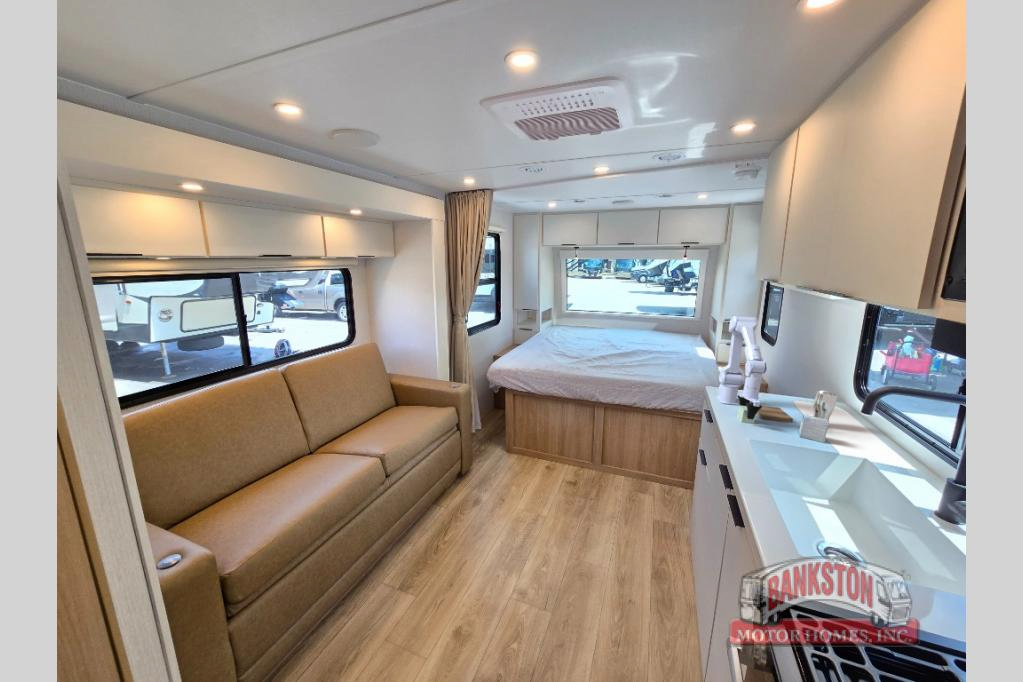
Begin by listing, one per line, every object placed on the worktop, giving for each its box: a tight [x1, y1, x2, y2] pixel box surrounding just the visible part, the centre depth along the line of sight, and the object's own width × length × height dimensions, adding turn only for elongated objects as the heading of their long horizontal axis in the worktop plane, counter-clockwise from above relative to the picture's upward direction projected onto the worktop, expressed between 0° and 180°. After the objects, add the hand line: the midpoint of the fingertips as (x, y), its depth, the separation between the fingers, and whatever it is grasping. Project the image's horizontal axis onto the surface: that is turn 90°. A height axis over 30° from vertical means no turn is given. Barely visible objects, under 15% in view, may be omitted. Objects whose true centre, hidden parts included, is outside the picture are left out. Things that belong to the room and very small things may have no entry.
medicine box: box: [798, 414, 830, 444], centre depth 144 cm, size 8×4×9 cm, turn 56°
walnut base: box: [756, 405, 794, 424], centre depth 165 cm, size 12×12×2 cm
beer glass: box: [813, 389, 838, 424], centre depth 155 cm, size 7×7×15 cm
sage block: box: [736, 405, 757, 425], centre depth 159 cm, size 5×5×6 cm
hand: (746, 415), depth 159 cm, fingers open, 7 cm apart
